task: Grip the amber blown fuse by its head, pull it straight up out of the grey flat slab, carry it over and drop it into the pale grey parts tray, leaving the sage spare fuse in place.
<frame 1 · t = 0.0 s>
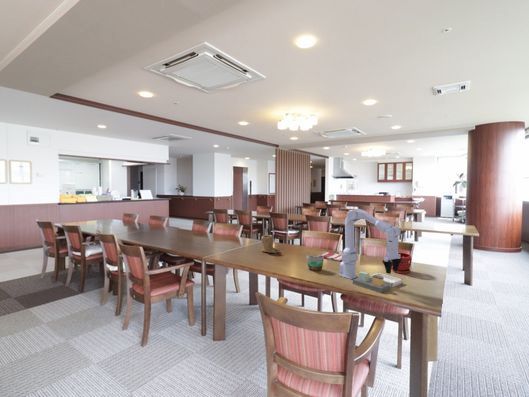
hand: (391, 272, 159), 10 cm above the table, tool pointing down, fingers open, 7 cm apart
dish towel: (335, 258, 228), on the table
parts tray: (384, 281, 173), on the table
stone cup: (269, 252, 245), on the table
spare fuse: (363, 284, 168), resting in grey flat slab
blown fuse: (377, 288, 161), resting in grey flat slab
food container: (315, 270, 194), on the table
grey flat slab: (370, 286, 165), on the table
plant pot: (400, 272, 192), on the table
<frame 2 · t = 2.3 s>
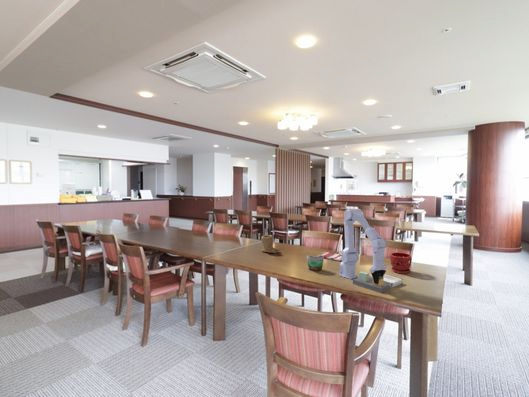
hand: (377, 282, 161), 3 cm above the table, tool pointing down, fingers closed on blown fuse, 3 cm apart
blown fuse: (377, 288, 161), resting in grey flat slab, touching gripper
everything else where it was.
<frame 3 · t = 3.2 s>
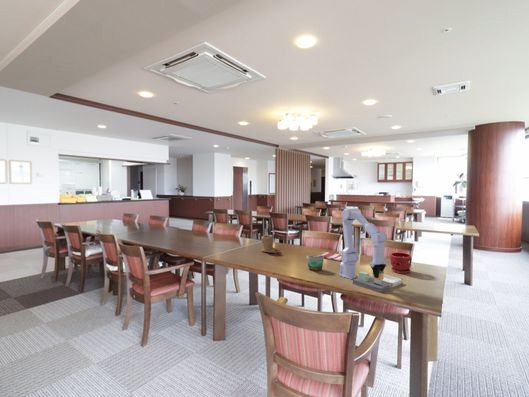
hand: (377, 277, 161), 7 cm above the table, tool pointing down, fingers closed on blown fuse, 3 cm apart
blown fuse: (377, 282, 161), point 3 cm above the table, touching gripper
everything else where it was.
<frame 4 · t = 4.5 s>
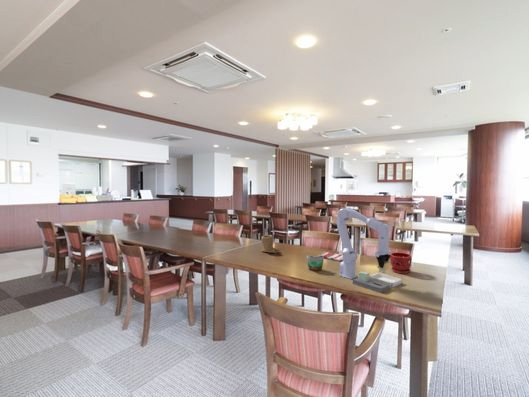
hand: (382, 266, 168), 10 cm above the table, tool pointing down, fingers closed on blown fuse, 3 cm apart
blown fuse: (382, 272, 168), point 7 cm above the table, touching gripper
everything else where it was.
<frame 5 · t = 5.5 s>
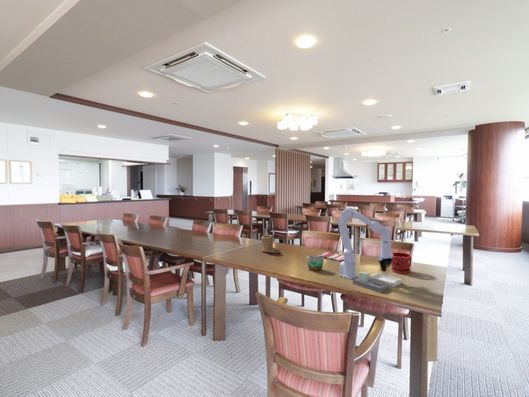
hand: (385, 270, 172), 7 cm above the table, tool pointing down, fingers closed on blown fuse, 3 cm apart
blown fuse: (385, 276, 172), point 4 cm above the table, touching gripper
everything else where it was.
when the fingers open (5 cm above the table, at t = 6.6 s): blown fuse stays where it is, resting on parts tray.
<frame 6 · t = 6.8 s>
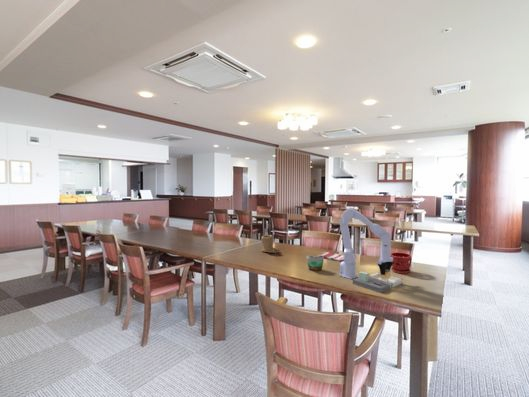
hand: (385, 273, 172), 5 cm above the table, tool pointing down, fingers open, 4 cm apart
blown fuse: (384, 281, 173), resting on parts tray
everything else where it was.
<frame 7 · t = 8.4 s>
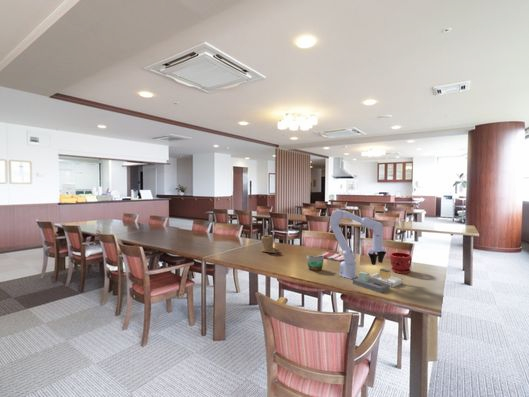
hand: (376, 263, 175), 10 cm above the table, tool pointing down, fingers open, 7 cm apart
nothing on the table moved.
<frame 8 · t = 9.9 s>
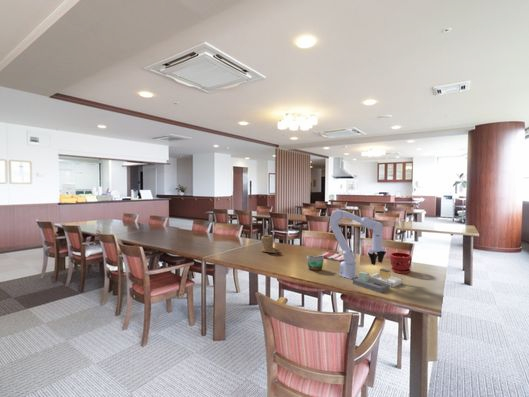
hand: (376, 263, 175), 10 cm above the table, tool pointing down, fingers open, 7 cm apart
nothing on the table moved.
at the end: blown fuse inside the target area on the parts tray (0.0 cm from its centre), point 0.4 cm above the parts tray's base; the gripper is holding nothing; spare fuse moved 0.0 cm from its start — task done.
